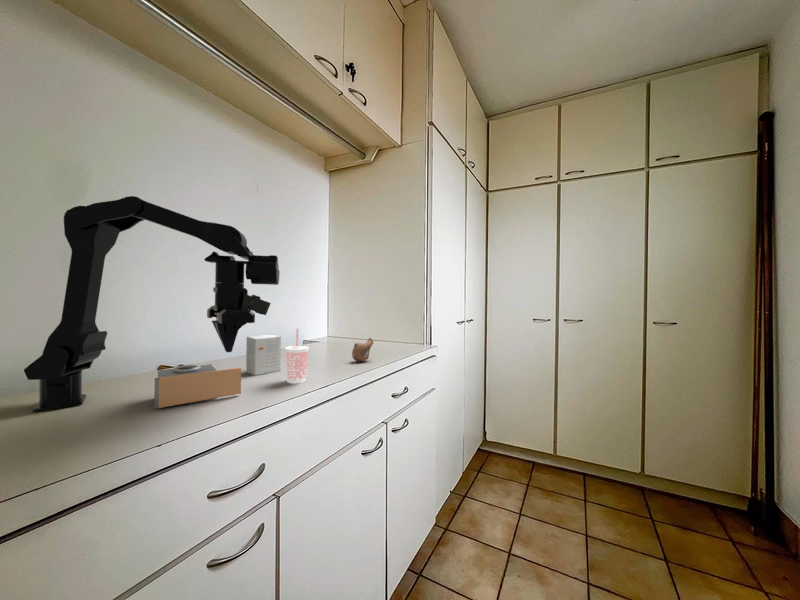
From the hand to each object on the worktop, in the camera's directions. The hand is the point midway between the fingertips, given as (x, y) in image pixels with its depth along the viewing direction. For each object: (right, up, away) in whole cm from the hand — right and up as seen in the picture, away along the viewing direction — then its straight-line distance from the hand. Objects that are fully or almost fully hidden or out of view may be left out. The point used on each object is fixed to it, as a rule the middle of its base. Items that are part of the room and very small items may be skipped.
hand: (228, 351), depth 69 cm
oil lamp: (+26, -10, +38) cm, 47 cm away
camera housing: (-8, -10, -3) cm, 13 cm away
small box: (-2, -10, +21) cm, 23 cm away
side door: (-3, -9, -5) cm, 11 cm away
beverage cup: (+11, -10, +12) cm, 19 cm away
